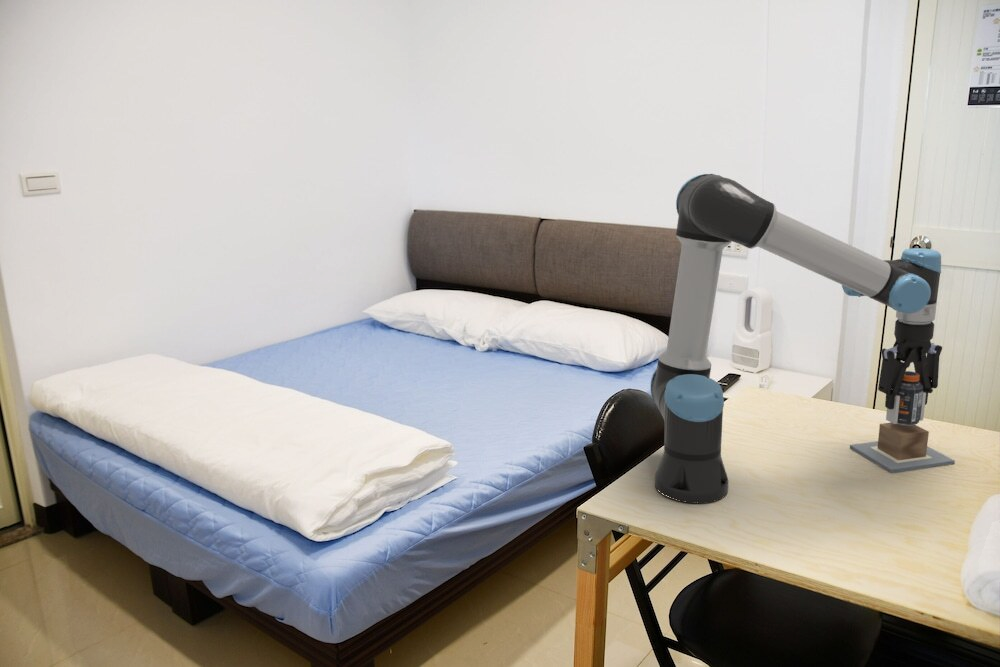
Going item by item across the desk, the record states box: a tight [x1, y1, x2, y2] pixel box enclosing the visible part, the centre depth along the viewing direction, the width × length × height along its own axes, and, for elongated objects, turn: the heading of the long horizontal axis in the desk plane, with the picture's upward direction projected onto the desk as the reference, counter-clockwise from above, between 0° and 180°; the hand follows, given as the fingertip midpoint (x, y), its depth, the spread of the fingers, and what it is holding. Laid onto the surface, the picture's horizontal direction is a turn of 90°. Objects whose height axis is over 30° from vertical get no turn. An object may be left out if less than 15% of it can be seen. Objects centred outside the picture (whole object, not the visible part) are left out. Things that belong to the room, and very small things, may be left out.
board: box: [849, 440, 955, 474], centre depth 177 cm, size 16×14×1 cm
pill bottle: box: [897, 370, 923, 425], centre depth 173 cm, size 6×6×11 cm
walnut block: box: [877, 422, 930, 460], centre depth 176 cm, size 7×7×6 cm
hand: (904, 419), depth 175 cm, fingers closed on pill bottle, 6 cm apart
